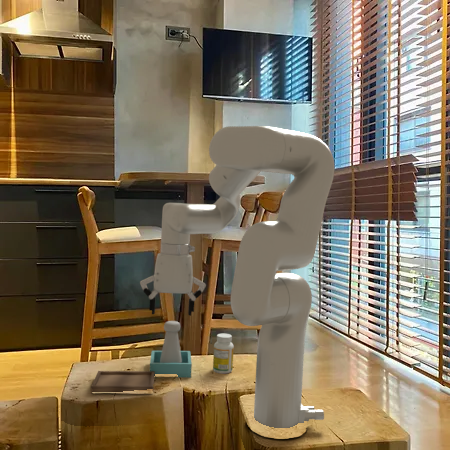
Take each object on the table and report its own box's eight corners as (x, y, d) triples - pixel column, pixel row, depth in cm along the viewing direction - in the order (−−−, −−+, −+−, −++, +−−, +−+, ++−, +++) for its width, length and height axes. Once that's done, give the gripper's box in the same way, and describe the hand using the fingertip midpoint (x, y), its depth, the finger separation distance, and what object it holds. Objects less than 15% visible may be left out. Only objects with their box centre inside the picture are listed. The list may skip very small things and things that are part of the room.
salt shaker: (180, 374, 126) (181, 325, 126) (158, 373, 127) (159, 324, 126) (182, 366, 132) (184, 319, 132) (161, 365, 132) (163, 318, 132)
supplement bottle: (222, 375, 127) (223, 339, 127) (208, 369, 131) (210, 334, 131) (236, 371, 131) (238, 336, 130) (223, 365, 135) (224, 331, 134)
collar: (189, 363, 135) (190, 351, 135) (191, 377, 125) (191, 364, 125) (151, 363, 134) (151, 350, 134) (149, 377, 124) (149, 363, 123)
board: (154, 378, 123) (154, 371, 123) (152, 394, 113) (152, 386, 113) (98, 377, 122) (98, 370, 122) (91, 394, 112) (91, 386, 112)
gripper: (206, 249, 132) (203, 311, 134) (142, 246, 131) (139, 309, 132) (208, 253, 125) (204, 318, 126) (140, 250, 123) (137, 316, 124)
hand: (171, 313), depth 129 cm, fingers open, 9 cm apart
